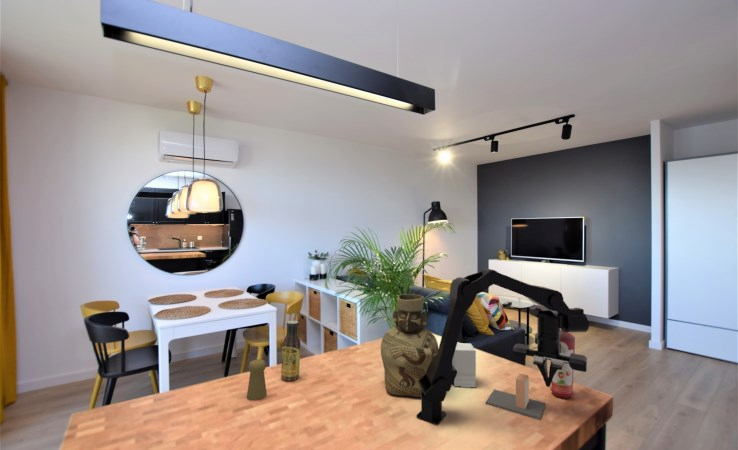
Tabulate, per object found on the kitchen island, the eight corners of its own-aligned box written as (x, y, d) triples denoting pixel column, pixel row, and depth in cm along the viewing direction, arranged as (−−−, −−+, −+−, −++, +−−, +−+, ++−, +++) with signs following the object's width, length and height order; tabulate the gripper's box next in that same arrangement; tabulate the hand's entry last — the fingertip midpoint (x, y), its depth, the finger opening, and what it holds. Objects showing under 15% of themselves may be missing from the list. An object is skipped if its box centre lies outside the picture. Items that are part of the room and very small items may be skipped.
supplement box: (471, 378, 121) (471, 343, 121) (476, 388, 113) (476, 350, 113) (450, 377, 121) (450, 342, 122) (453, 387, 114) (453, 349, 114)
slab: (525, 409, 99) (525, 381, 99) (515, 406, 101) (515, 379, 101) (528, 402, 103) (528, 375, 103) (519, 399, 105) (519, 373, 105)
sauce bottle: (278, 381, 117) (278, 323, 118) (285, 373, 124) (286, 319, 124) (295, 382, 116) (296, 324, 117) (302, 375, 122) (303, 319, 123)
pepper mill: (260, 401, 103) (261, 365, 104) (242, 399, 105) (243, 363, 105) (270, 392, 109) (270, 358, 110) (253, 390, 111) (253, 356, 111)
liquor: (575, 393, 110) (575, 306, 110) (574, 403, 104) (574, 311, 104) (550, 387, 114) (550, 304, 115) (547, 396, 108) (547, 308, 108)
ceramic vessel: (420, 409, 100) (421, 306, 100) (368, 386, 114) (369, 297, 114) (453, 387, 113) (453, 297, 114) (402, 369, 128) (403, 290, 128)
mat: (540, 419, 95) (540, 417, 95) (485, 403, 103) (485, 401, 103) (545, 404, 103) (545, 402, 103) (494, 391, 111) (494, 389, 111)
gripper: (587, 331, 100) (587, 384, 99) (519, 320, 110) (519, 369, 110) (586, 341, 90) (586, 400, 90) (511, 328, 101) (511, 381, 101)
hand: (548, 386), depth 98 cm, fingers closed
